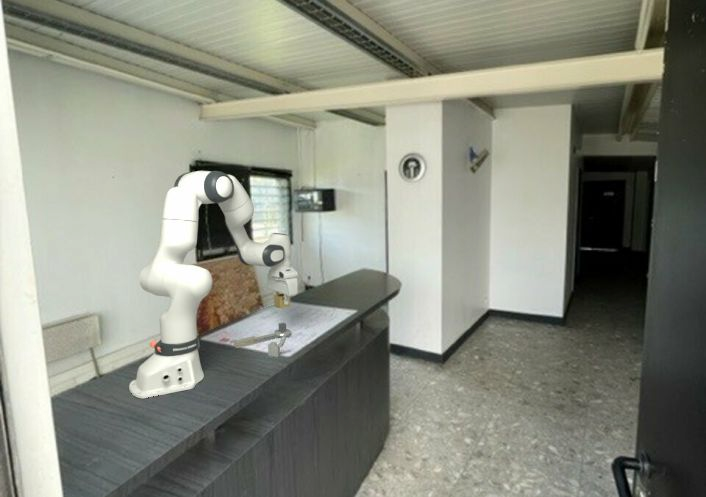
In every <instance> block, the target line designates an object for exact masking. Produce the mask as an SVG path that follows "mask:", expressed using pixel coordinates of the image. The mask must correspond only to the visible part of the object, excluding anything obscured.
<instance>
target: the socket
mask: <svg viewBox="0 0 706 497" xmlns="http://www.w3.org/2000/svg"><path fill="white" fill-rule="evenodd" d="M284 298H285V297H284V294H281V293H279V294H276V295H275V294H274V295H273V302H274V304H273V307H276V308H277V309H279V310H281V309H284V308H285V309H286V308H290V307H291V297H290V298H289V304H287V305H285V304H283V300H284Z"/></svg>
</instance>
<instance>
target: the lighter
mask: <svg viewBox="0 0 706 497" xmlns="http://www.w3.org/2000/svg"><path fill="white" fill-rule="evenodd" d="M286 340H287V337H285V336H283V337H282V338H281V339H280V340H279V342H278V343H277V341H271V342H270V343H268V345H267V352H268V353H267V354H268V357H273V356H274V357H275V358H279V357H280V356H281V355H280V354H281V350H280V349H281V348H283V346H284V344H285V342H286ZM279 355H280V356H279ZM278 356H279V357H278Z"/></svg>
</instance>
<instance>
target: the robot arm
mask: <svg viewBox="0 0 706 497" xmlns="http://www.w3.org/2000/svg"><path fill="white" fill-rule="evenodd" d="M203 204H204V205H209V204H218V206H219V207H220V210H221V211H222V213H223V215H224V223H225V226H226V228H227V231H228V232H229V235H230V238H231V239H232V241H233V243H234V246H235V247H236V253H237V256H238V259H239V261H240V262H241V264H242V265H245V266H256V267H266V268H270V269H269V270H268V273H267V281H266V286H267V288H268V289H269V290H271V291H273V294H274V295H276V294H284V297H285V298H284V300H283V304H285V305H287V304H289V298H290V299H291V297H295V296H297V295H298V292H299V290H298V288H299V283H298V278H297V277H299V274H298V271H297V270H296V269H295V268H294V267H293V266H292V261H291V256H292V244H291V243H292V242H291V238H290V235H288V234H286V233H280V232H279V233H278V232H273V233H271V234H270V236H269V238H268V239H267V240H265V241H264V242H258V241H254V240H252V239H251V238H249V235H248V234H247V233H248V232H247V231H246V228H245V227H244V225H246V224H247V223H249V221H250V220H251V219H252V218H253V216H254V213H255V206H254V204H253V202H252V200H251V198H250V195H249V194H248V193H247V191H246V190H245V188H244V186H243V185H242V184H241V183H240V182H239V180H238V179H237V178H236V177H235V176H234V175H231V174H227V173H225V172H223V171H220V170H219V171H218V170H213V171H209V170H197V171H192V172H191V171H188V172H185V173H182V174H180V175H179V176H178V177H177V178H176V180H175V181H174V185H173V187H172V188H170V189H169V190H167V192H166V195H165V199H164V202H163V205H162V214H161V221H160V222H161V224H160V234H159V241H158V245H157V249H156V252H155V253H154V256H153V257H152V259H151V261H150V262H148V264H147V265H145V266H144V267H143V269H141V272H140V274H139V278H138V280H139V285H140V287H141V288H142V290H143V291H144V292H147V293H149V294H152V295H154V296H159V297H165V298H166V297H167V298H169V299H170V302H169V307H168V309H167V310H165V311H164V312H163V313H161V315H160V316H159V330H160V331H159V332H160V334H159V336H160V339H159V341H158V342H157V341H156V340H151V341H150V343H149V345H150V347H151V348H152V349H154V353H153V354H151V356H149V357H148V358H147V359H146V360H145V361H144V362H142V364H141V365H140V366H138V368H137V373H136V379H133V380H132V381H130V383H129V387H128V388H129V389H128V390H129V392H130V394H131V393H132V394H131V395H132V396H134V397H136V398H138V399H147V398H148V397H149V398H153V396H154V397H157V396H158V395H159V396H164V395H168V394H173V393H178V392H182V391H186V390H187V391H188V390H192V389H194V388H195V386H196V385H197V384H198V383H199V382H201V381H202V380H203V379H204V378H205V374H204V371H203V369H202V365H201V360H200V355H199V352H200V339H199V335H198V334H197V333H198V332H197V329H198V328H197V327H198V326H197V318H198V317H197V315H198V310H199V306H200V304H201V302H202V300H203V299H204V298H206V297H207V296H208V295H209V293H210V292H211V291H212V288H213V277H212V273H211V272H210V271H209V270H208V269H207V268H204V267H202V266H197V265H196V264H195V265H194V264H185V263H184V260H185V259H186V256H187V254H188V253H190V252H191V251H192V250H194V249H195V248H196V246H197V244H198V242H197V241H198V231H199V209H200V207H201V205H203ZM149 398H148V399H149Z"/></svg>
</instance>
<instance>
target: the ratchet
mask: <svg viewBox="0 0 706 497" xmlns="http://www.w3.org/2000/svg"><path fill="white" fill-rule="evenodd" d="M291 333H292V330H291V329H290V328H289V329H288V328H287V323H286V322H279V323H278V329H275V330H274V332H272V333H269V334H265V335H260V336H255V335H254V336H248V337H244V338H239V339H236V340H233V346H234V347H235V348H237V349H239V348H243V347H247V346H252V345H255V344H256V345H257V344H259V343H263V342H268V341H271V339H272V340H275V338H276V339H279V338H282V337H283V336H285V337H288V338H290V337H291V336H292V334H291ZM290 335H291V336H290ZM289 336H290V337H289Z"/></svg>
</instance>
